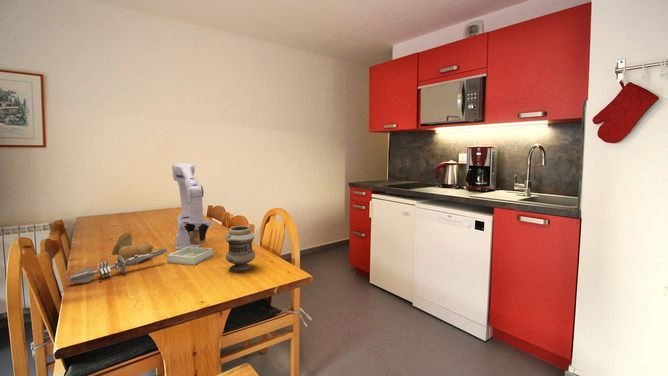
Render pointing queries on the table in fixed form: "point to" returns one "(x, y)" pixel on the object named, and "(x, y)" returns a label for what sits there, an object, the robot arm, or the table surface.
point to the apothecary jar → (240, 248)
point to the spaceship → (110, 267)
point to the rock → (122, 242)
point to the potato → (135, 250)
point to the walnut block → (196, 237)
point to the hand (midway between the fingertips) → (197, 239)
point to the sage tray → (190, 255)
